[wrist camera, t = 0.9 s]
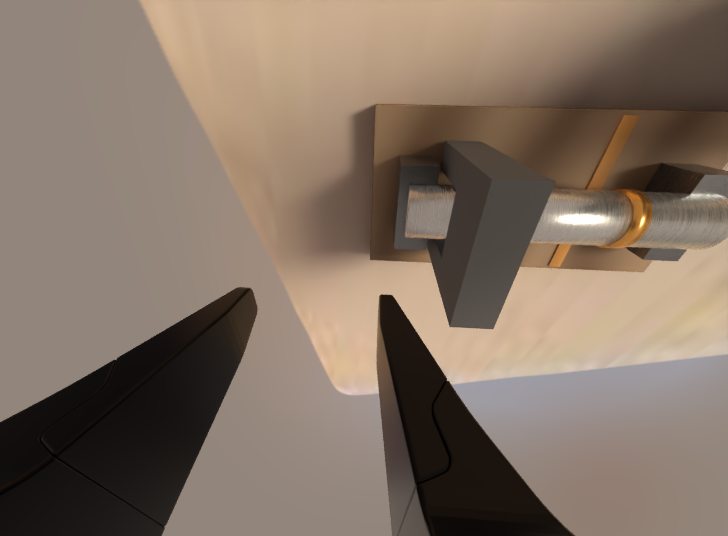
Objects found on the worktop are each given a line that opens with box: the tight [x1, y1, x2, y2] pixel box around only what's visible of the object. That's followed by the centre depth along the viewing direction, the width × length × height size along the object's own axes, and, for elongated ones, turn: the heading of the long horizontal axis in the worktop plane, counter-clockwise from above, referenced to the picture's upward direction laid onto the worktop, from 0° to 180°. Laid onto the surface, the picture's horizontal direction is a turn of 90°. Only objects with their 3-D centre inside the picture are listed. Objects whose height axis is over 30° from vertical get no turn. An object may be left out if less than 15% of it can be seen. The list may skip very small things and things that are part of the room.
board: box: [370, 104, 728, 272], centre depth 17 cm, size 20×10×2 cm, turn 89°
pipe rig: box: [393, 155, 728, 261], centre depth 15 cm, size 17×5×4 cm, turn 89°
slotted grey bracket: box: [427, 141, 556, 329], centre depth 14 cm, size 2×7×8 cm, turn 179°
